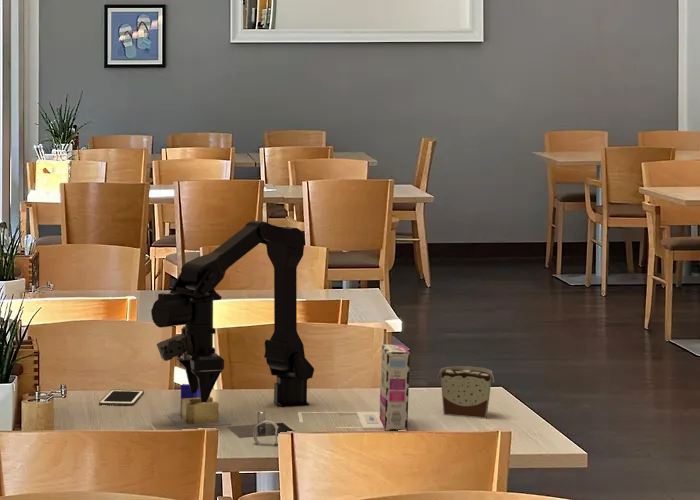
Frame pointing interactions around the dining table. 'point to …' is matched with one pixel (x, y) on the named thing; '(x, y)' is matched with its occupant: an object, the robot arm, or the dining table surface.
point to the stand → (258, 428)
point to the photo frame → (365, 418)
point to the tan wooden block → (199, 410)
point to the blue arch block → (189, 392)
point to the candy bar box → (394, 387)
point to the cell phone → (122, 397)
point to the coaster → (182, 424)
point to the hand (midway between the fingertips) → (198, 397)
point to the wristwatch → (262, 423)
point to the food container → (465, 391)
